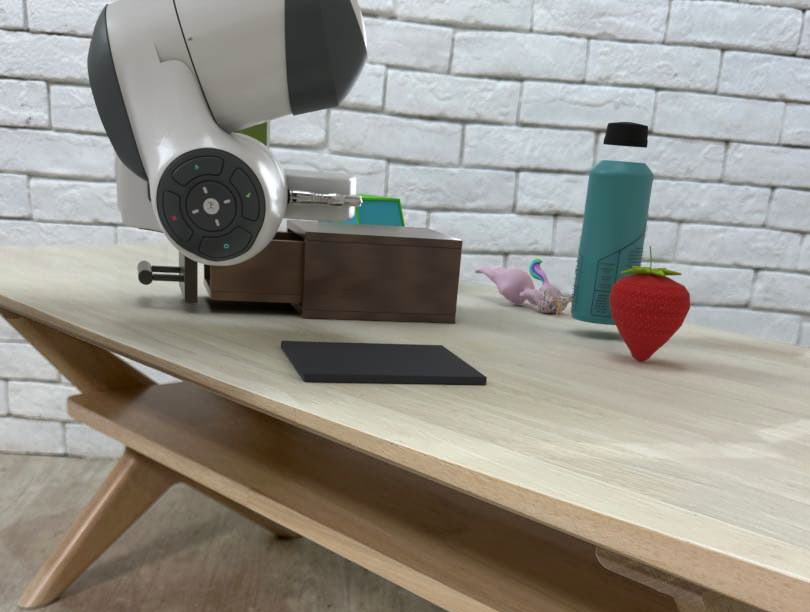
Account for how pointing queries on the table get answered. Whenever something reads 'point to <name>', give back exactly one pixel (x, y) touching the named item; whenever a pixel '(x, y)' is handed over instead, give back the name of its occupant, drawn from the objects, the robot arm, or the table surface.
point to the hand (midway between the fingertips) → (244, 184)
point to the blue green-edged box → (377, 211)
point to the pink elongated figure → (527, 287)
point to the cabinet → (378, 272)
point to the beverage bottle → (611, 225)
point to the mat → (379, 363)
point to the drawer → (241, 274)
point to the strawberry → (648, 308)
